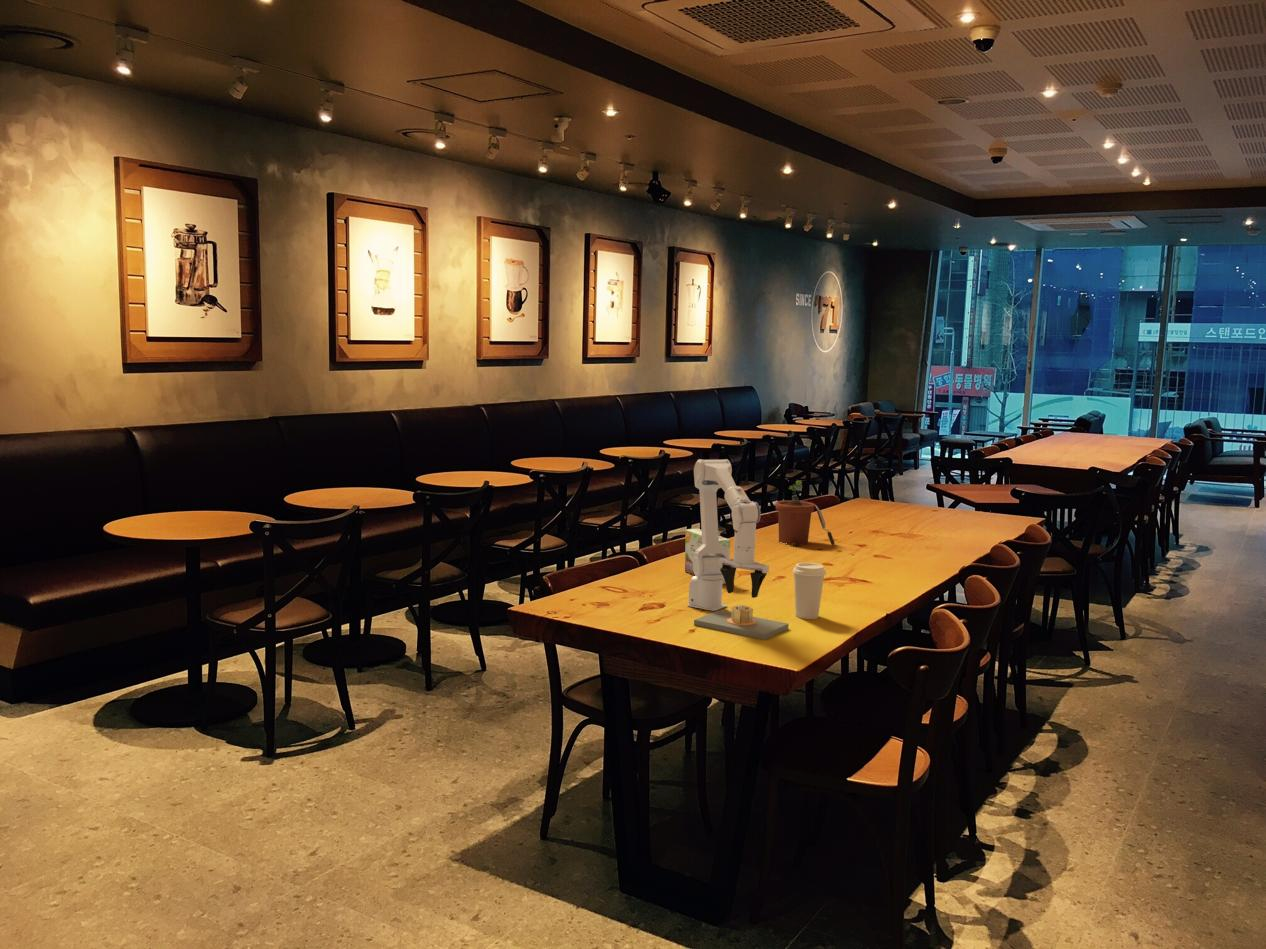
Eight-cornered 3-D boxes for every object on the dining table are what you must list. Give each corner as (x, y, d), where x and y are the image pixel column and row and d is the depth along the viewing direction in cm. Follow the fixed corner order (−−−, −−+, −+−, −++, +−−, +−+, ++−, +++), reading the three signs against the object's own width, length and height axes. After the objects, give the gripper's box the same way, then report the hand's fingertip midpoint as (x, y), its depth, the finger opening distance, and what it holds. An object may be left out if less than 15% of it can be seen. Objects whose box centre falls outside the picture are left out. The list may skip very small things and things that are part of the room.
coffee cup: (819, 612, 298) (822, 562, 296) (826, 620, 288) (829, 569, 286) (787, 611, 297) (790, 561, 296) (793, 620, 288) (796, 568, 286)
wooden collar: (727, 621, 278) (728, 608, 278) (737, 617, 283) (738, 604, 283) (745, 624, 275) (746, 611, 275) (755, 620, 280) (755, 607, 279)
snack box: (683, 572, 347) (684, 528, 345) (697, 570, 350) (698, 528, 348) (715, 585, 328) (717, 540, 326) (730, 584, 331) (732, 539, 329)
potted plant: (790, 536, 419) (793, 477, 416) (835, 544, 405) (838, 483, 402) (765, 542, 406) (768, 480, 403) (811, 550, 392) (814, 486, 389)
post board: (693, 625, 280) (694, 603, 279) (719, 615, 291) (720, 594, 291) (764, 639, 267) (765, 617, 267) (788, 628, 279) (789, 607, 278)
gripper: (714, 544, 277) (712, 593, 279) (761, 552, 269) (758, 601, 271) (727, 541, 283) (725, 588, 285) (773, 548, 275) (771, 597, 277)
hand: (742, 594), depth 278 cm, fingers open, 7 cm apart
